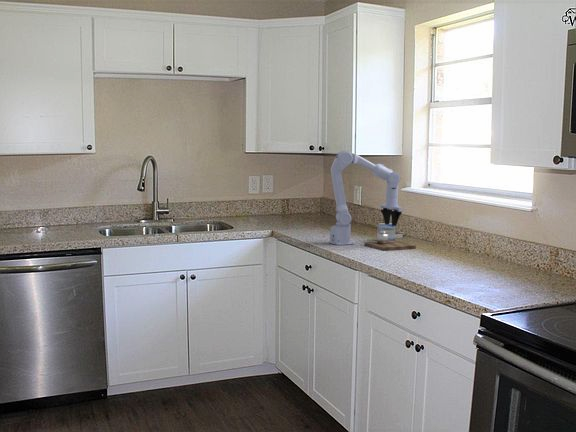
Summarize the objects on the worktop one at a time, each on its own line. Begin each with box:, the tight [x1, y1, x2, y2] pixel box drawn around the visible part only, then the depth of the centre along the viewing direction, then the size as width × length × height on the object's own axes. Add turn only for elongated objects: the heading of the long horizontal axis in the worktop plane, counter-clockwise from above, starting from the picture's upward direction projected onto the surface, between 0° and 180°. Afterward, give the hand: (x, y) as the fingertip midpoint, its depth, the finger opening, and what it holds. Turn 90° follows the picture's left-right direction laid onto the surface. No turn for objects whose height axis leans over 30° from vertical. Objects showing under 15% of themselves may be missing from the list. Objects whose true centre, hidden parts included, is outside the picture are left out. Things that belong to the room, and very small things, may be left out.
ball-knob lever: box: [376, 231, 406, 244], centre depth 314 cm, size 16×5×6 cm, turn 119°
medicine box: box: [376, 222, 396, 241], centre depth 330 cm, size 8×4×9 cm, turn 105°
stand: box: [363, 239, 417, 252], centre depth 311 cm, size 18×16×2 cm
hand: (390, 224), depth 318 cm, fingers open, 5 cm apart
